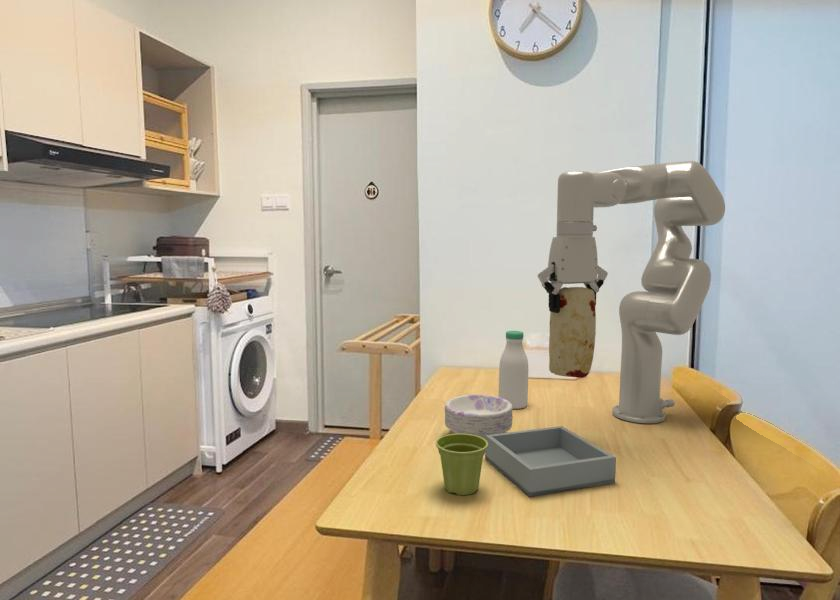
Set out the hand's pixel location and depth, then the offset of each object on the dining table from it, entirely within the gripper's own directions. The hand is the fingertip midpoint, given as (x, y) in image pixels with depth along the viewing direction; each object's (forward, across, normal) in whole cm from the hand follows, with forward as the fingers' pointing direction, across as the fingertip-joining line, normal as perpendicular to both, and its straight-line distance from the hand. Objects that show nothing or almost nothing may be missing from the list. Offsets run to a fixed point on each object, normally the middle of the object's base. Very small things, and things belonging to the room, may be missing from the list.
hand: (572, 310), depth 126 cm
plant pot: (+29, +33, +15) cm, 46 cm away
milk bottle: (+29, 0, -27) cm, 40 cm away
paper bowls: (+29, +19, -8) cm, 36 cm away
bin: (+29, +14, +13) cm, 35 cm away
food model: (+15, 0, 0) cm, 15 cm away
